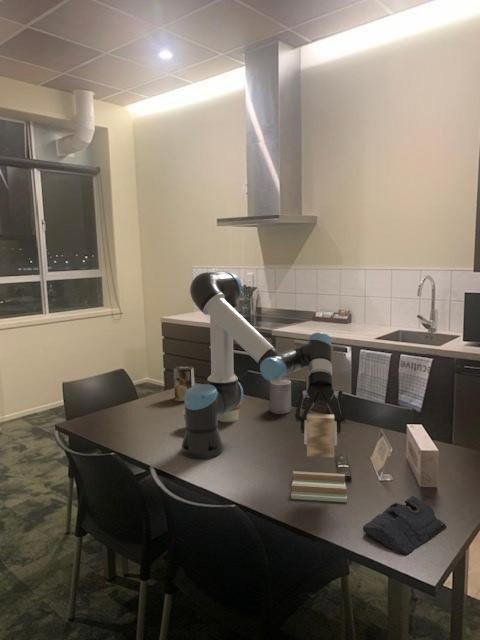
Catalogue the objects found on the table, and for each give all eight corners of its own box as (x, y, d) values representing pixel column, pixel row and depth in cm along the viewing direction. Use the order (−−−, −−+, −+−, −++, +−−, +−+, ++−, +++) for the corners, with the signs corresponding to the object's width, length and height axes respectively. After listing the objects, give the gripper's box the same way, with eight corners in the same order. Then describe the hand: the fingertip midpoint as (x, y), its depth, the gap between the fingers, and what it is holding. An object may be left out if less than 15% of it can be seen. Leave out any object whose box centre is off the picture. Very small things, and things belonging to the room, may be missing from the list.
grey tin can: (270, 406, 227) (270, 375, 225) (291, 407, 226) (291, 376, 224) (269, 414, 218) (268, 381, 215) (291, 414, 216) (290, 381, 214)
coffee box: (195, 397, 243) (194, 366, 241) (192, 401, 237) (191, 369, 235) (178, 397, 245) (177, 365, 243) (174, 401, 239) (173, 369, 236)
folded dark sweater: (352, 533, 126) (352, 515, 126) (399, 503, 140) (399, 488, 140) (405, 561, 115) (406, 542, 114) (451, 526, 129) (452, 509, 128)
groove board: (291, 498, 143) (291, 489, 143) (293, 477, 157) (293, 468, 156) (346, 502, 141) (346, 492, 140) (344, 479, 154) (344, 470, 154)
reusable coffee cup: (247, 416, 214) (247, 383, 212) (231, 425, 204) (231, 390, 202) (224, 412, 221) (223, 379, 219) (207, 420, 211) (206, 386, 208)
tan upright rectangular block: (307, 456, 146) (306, 417, 144) (307, 451, 149) (307, 413, 148) (334, 457, 144) (334, 418, 143) (333, 452, 148) (334, 414, 146)
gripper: (352, 382, 158) (356, 449, 145) (288, 381, 161) (285, 446, 148) (354, 370, 152) (357, 439, 139) (287, 369, 156) (284, 436, 142)
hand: (320, 443), depth 143 cm, fingers closed on tan upright rectangular block, 8 cm apart
